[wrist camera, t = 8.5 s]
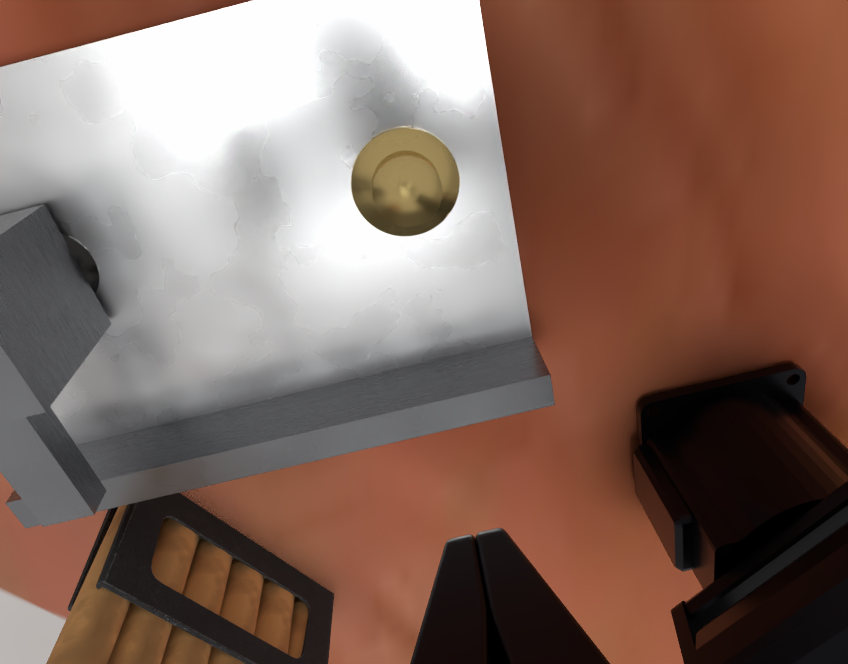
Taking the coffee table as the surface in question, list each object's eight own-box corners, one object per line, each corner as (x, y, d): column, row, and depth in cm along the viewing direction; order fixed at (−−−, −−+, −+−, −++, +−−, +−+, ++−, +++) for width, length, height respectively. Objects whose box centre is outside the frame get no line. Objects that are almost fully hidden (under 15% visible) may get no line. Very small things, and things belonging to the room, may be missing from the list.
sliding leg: (44, 204, 17) (-68, 281, 13) (168, 425, 21) (116, 543, 17) (-89, 237, 17) (-246, 326, 13) (59, 451, 22) (-21, 574, 17)
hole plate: (464, -55, 16) (486, -63, 13) (530, 350, 23) (554, 404, 20) (-172, 113, 17) (-285, 140, 14) (68, 459, 23) (25, 528, 20)
